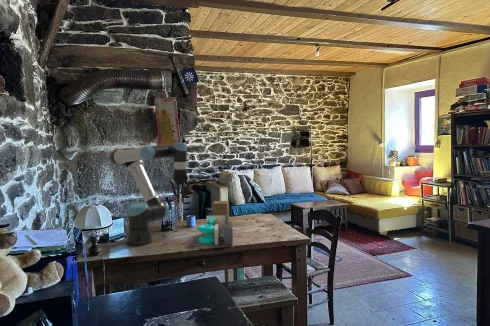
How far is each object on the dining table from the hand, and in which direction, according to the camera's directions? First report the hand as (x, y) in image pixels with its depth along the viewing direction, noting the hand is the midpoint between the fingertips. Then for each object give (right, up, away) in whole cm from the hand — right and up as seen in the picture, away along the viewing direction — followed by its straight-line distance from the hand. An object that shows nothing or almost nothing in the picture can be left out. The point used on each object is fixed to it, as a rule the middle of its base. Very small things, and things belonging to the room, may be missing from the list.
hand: (180, 207), depth 206 cm
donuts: (+15, -21, +2) cm, 26 cm away
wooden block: (+22, -19, +26) cm, 39 cm away
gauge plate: (+21, -20, +3) cm, 30 cm away
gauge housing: (+23, -21, +4) cm, 31 cm away
